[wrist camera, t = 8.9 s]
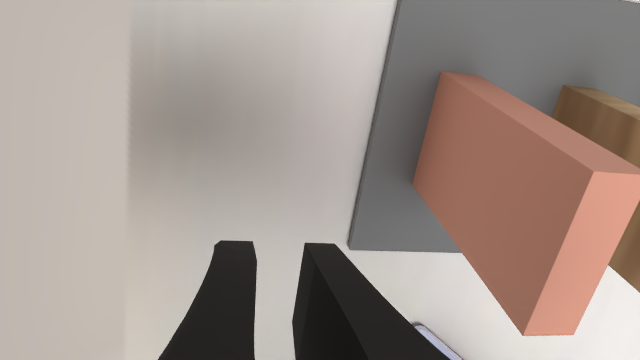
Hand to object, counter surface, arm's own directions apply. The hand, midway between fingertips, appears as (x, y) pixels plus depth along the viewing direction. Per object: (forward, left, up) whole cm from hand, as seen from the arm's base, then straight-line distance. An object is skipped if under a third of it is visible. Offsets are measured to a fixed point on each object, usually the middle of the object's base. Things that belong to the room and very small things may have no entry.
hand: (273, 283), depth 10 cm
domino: (+5, -6, -10) cm, 13 cm away
